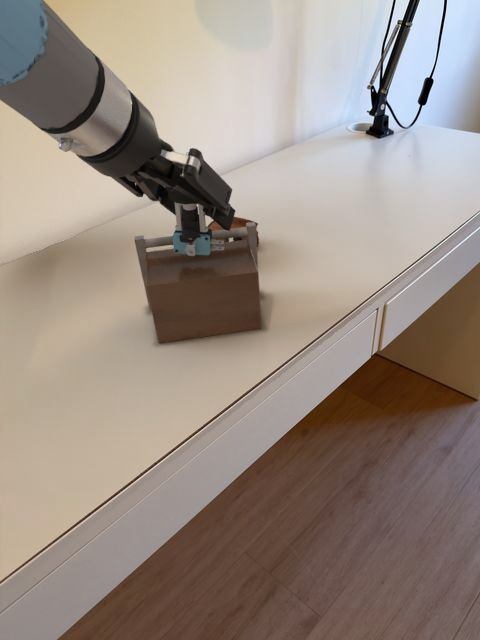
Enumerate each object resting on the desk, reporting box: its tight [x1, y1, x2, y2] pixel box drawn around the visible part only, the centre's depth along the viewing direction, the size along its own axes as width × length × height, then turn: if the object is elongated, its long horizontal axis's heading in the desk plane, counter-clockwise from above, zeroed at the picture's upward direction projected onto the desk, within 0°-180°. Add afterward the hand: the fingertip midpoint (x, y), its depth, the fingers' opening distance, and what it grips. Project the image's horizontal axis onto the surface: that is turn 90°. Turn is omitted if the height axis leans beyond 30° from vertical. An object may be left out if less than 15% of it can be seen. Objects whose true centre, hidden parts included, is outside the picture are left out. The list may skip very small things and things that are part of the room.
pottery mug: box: [206, 216, 260, 248], centre depth 86 cm, size 12×10×8 cm
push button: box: [165, 187, 224, 256], centre depth 65 cm, size 7×5×10 cm
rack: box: [133, 221, 262, 344], centre depth 71 cm, size 9×16×12 cm, turn 100°
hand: (209, 216), depth 69 cm, fingers closed on push button, 5 cm apart
